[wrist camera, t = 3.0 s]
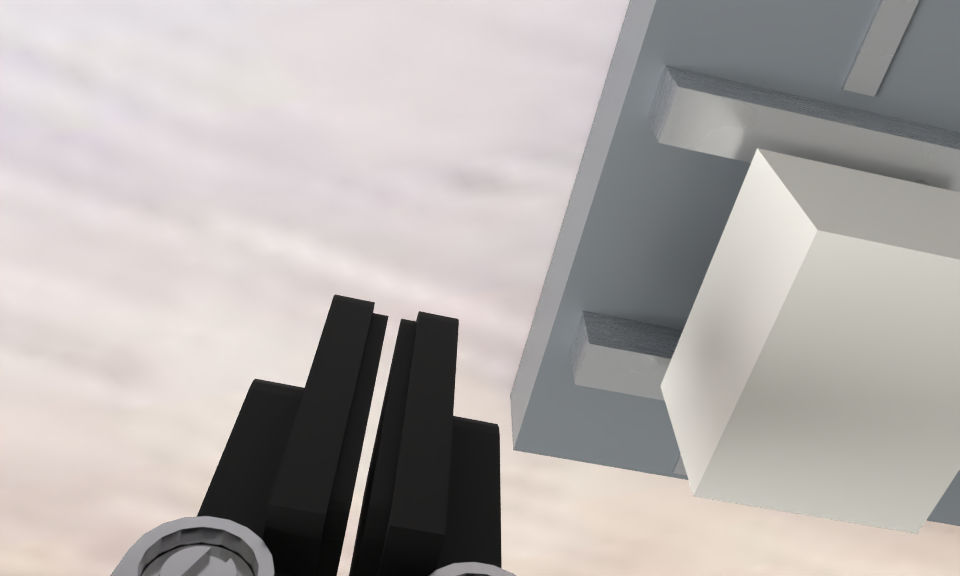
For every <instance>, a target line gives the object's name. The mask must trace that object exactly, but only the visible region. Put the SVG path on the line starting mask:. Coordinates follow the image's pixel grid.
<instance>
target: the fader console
mask: <svg viewBox="0 0 960 576" xmlns="http://www.w3.org/2000/svg"><path fill="white" fill-rule="evenodd" d="M757 148H759V149H763V150H768V151H772V152H777V153H782V154H786V155H791V156H795V157H800V158H804V159H809V160H814V161H818V162H823V163H827V164H832V165H837V166H841V167H846V168H850V169H855V170H859V171H864V172H869V173H873V174H878V175H882V176H887V177H891V178H896V179H901V180H905V181H910V182H914V183H919V184H924V185H928V186H933V187H937V188H942V189H946V190H951V191H956V192H960V0H630V2H629V6H628V9H627V12H626V16H625V19H624V22H623V25H622V29H621V32H620V35H619V39H618V42H617V45H616V49H615V52H614V55H613V58H612V62H611V65H610V68H609V72H608V75H607V78H606V82H605V85H604V88H603V91H602V95H601V98H600V101H599V105H598V108H597V111H596V115H595V118H594V121H593V124H592V128H591V131H590V134H589V138H588V141H587V144H586V148H585V151H584V154H583V157H582V161H581V164H580V167H579V171H578V174H577V177H576V181H575V184H574V187H573V190H572V194H571V197H570V200H569V204H568V207H567V210H566V214H565V217H564V220H563V223H562V227H561V230H560V233H559V237H558V240H557V243H556V247H555V250H554V253H553V256H552V260H551V263H550V266H549V270H548V273H547V276H546V280H545V283H544V286H543V289H542V293H541V296H540V299H539V303H538V306H537V309H536V313H535V316H534V319H533V322H532V326H531V329H530V332H529V336H528V339H527V342H526V346H525V349H524V352H523V355H522V359H521V362H520V365H519V369H518V372H517V375H516V379H515V382H514V385H513V388H512V392H511V395H510V399H511V417H512V434H513V450H516V451H522V452H528V453H534V454H540V455H546V456H551V457H557V458H563V459H569V460H575V461H581V462H587V463H593V464H598V465H604V466H610V467H616V468H622V469H628V470H634V471H640V472H645V473H651V474H657V475H663V476H669V477H675V478H681V479H686V480H688V477H687V473H686V470H685V467H684V463H683V460H682V457H681V453H680V450H679V447H678V443H677V440H676V437H675V433H674V430H673V427H672V423H671V420H670V417H669V413H668V410H667V407H666V403H665V400H664V397H663V393H662V390H661V387H660V386H661V383H662V381H663V378H664V376H665V373H666V371H667V369H668V366H669V364H670V361H671V359H672V356H673V354H674V351H675V349H676V346H677V344H678V342H679V339H680V337H681V334H682V332H683V329H684V327H685V324H686V322H687V319H688V317H689V315H690V312H691V310H692V307H693V305H694V302H695V300H696V297H697V295H698V292H699V290H700V287H701V285H702V283H703V280H704V278H705V275H706V273H707V270H708V268H709V265H710V263H711V260H712V258H713V256H714V253H715V251H716V248H717V246H718V243H719V241H720V238H721V236H722V233H723V231H724V229H725V226H726V224H727V221H728V219H729V216H730V214H731V211H732V209H733V206H734V204H735V202H736V199H737V197H738V194H739V192H740V189H741V187H742V184H743V182H744V179H745V177H746V174H747V172H748V170H749V167H750V165H751V162H752V160H753V157H754V155H755V152H756V150H757ZM927 521H933V522H939V523H945V524H951V525H957V526H960V470H959V471H958V473H957V474H956V476H955V477H954V479H953V480H952V482H951V483H950V485H949V486H948V488H947V489H946V491H945V493H944V494H943V496H942V497H941V499H940V500H939V502H938V503H937V505H936V506H935V508H934V509H933V511H932V512H931V514H930V515H929V517H928V518H927Z"/></svg>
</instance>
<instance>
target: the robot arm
mask: <svg viewBox="0 0 960 576" xmlns="http://www.w3.org/2000/svg"><path fill="white" fill-rule="evenodd" d="M374 304H375V302H370V301H365V300H360V299H355V298H350V297H345V296H340V295H334V297H333V300H332V303H331V306H330V310H329V313H328V316H327V319H326V322H325V325H324V329H323V332H322V335H321V338H320V341H319V344H318V348H317V351H316V354H315V357H314V360H313V363H312V367H311V370H310V373H309V376H308V379H307V382H306V386H305V388H302V387H297V386H291V385H286V384H281V383H275V382H270V381H265V380H259V379H255V380H254V381H253V382H252V384H251V386H250V388H249V391H248V393H247V395H246V398H245V400H244V403H243V405H242V408H241V410H240V413H239V415H238V417H237V420H236V422H235V425H234V427H233V430H232V432H231V435H230V437H229V439H228V442H227V444H226V447H225V449H224V452H223V454H222V456H221V459H220V461H219V464H218V466H217V469H216V471H215V474H214V476H213V478H212V481H211V483H210V486H209V488H208V491H207V493H206V495H205V498H204V500H203V503H202V505H201V508H200V510H199V513H198V515H197V517H184V518H181V519H177V520H174V521H170V522H167V523H163V524H161V525H159V526H158V527H156V528H154V529H152V530H151V531H149V532H147V533H145V534H144V535H143V536H142V537H141V538H140V539H139V540H138V541H137V542H136V543H135V544H134V545H133V546H132V547H131V548H130V549H129V550H128V551H127V553H126V554H125V556H124V557H123V558H122V560H121V561H120V563H119V564H118V565H117V567H116V568H115V570H114V571H113V572H112V574H111V575H110V576H337V571H338V566H339V561H340V556H341V551H342V546H343V541H344V537H345V532H346V527H347V522H348V517H349V512H350V507H351V502H352V497H353V492H354V487H355V482H356V477H357V472H358V467H359V462H360V457H361V452H362V446H363V441H364V436H365V431H366V426H367V421H368V416H369V411H370V406H371V401H372V396H373V391H374V386H375V381H376V376H377V371H378V366H379V361H380V356H381V351H382V346H383V341H384V336H385V331H386V325H387V320H388V316H385V315H380V314H375V313H373V310H374ZM458 325H459V320H458V319H455V318H450V317H445V316H440V315H435V314H430V313H425V312H420V311H419V313H418V316H417V320H416V322H415V321H410V320H405V319H401V322H400V326H399V331H398V335H397V340H396V345H395V349H394V354H393V359H392V364H391V368H390V373H389V378H388V382H387V387H386V392H385V396H384V401H383V406H382V411H381V415H380V420H379V425H378V429H377V434H376V439H375V444H374V448H373V453H372V458H371V462H370V467H369V472H368V477H367V482H366V487H365V492H364V497H363V502H362V508H361V513H360V519H359V524H358V530H357V535H356V541H355V546H354V552H353V557H352V563H351V568H350V574H349V576H516V575H515V574H513V573H511V572H508V571H506V570H504V569H501V502H500V434H499V427H498V425H497V424H493V423H488V422H483V421H477V420H472V419H467V418H461V417H456V416H453V407H454V390H455V374H456V358H457V342H458Z"/></svg>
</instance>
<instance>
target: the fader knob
mask: <svg viewBox="0 0 960 576" xmlns="http://www.w3.org/2000/svg"><path fill="white" fill-rule="evenodd" d="M660 387H661V390H662V393H663V397H664V400H665V403H666V407H667V410H668V413H669V417H670V420H671V423H672V427H673V430H674V433H675V437H676V440H677V443H678V447H679V450H680V453H681V457H682V460H683V463H684V467H685V470H686V473H687V477H688V480H689V483H690V487H691V490H692V493H693V496H695V497H701V498H707V499H712V500H718V501H724V502H730V503H736V504H742V505H748V506H754V507H760V508H766V509H772V510H778V511H784V512H790V513H796V514H802V515H808V516H814V517H820V518H825V519H831V520H837V521H843V522H849V523H855V524H861V525H867V526H873V527H879V528H885V529H891V530H897V531H903V532H909V533H915V534H918V532H919V531H920V529H921V528H922V526H923V524H924V523H925V521H926V520H927V518H928V517H929V515H930V514H931V512H932V511H933V509H934V508H935V506H936V505H937V503H938V502H939V500H940V499H941V497H942V496H943V494H944V493H945V491H946V489H947V488H948V486H949V485H950V483H951V482H952V480H953V479H954V477H955V476H956V474H957V473H958V471H959V470H960V192H956V191H951V190H946V189H942V188H937V187H933V186H928V185H924V184H919V183H914V182H910V181H905V180H901V179H896V178H891V177H887V176H882V175H878V174H873V173H869V172H864V171H859V170H855V169H850V168H846V167H841V166H837V165H832V164H827V163H823V162H818V161H814V160H809V159H804V158H800V157H795V156H791V155H786V154H782V153H777V152H772V151H768V150H763V149H759V148H757V150H756V152H755V155H754V157H753V160H752V162H751V165H750V167H749V170H748V172H747V174H746V177H745V179H744V182H743V184H742V187H741V189H740V192H739V194H738V197H737V199H736V202H735V204H734V206H733V209H732V211H731V214H730V216H729V219H728V221H727V224H726V226H725V229H724V231H723V233H722V236H721V238H720V241H719V243H718V246H717V248H716V251H715V253H714V256H713V258H712V260H711V263H710V265H709V268H708V270H707V273H706V275H705V278H704V280H703V283H702V285H701V287H700V290H699V292H698V295H697V297H696V300H695V302H694V305H693V307H692V310H691V312H690V315H689V317H688V319H687V322H686V324H685V327H684V329H683V332H682V334H681V337H680V339H679V342H678V344H677V346H676V349H675V351H674V354H673V356H672V359H671V361H670V364H669V366H668V369H667V371H666V373H665V376H664V378H663V381H662V383H661V386H660Z"/></svg>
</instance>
